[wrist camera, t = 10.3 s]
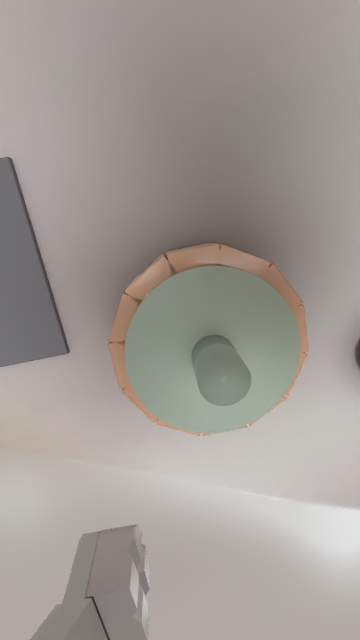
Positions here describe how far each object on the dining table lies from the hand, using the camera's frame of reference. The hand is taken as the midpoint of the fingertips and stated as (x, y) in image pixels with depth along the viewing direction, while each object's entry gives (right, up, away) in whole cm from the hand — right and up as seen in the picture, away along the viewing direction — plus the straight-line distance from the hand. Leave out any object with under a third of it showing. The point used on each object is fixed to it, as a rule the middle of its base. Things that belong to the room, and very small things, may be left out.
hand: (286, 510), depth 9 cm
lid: (-1, +3, +14) cm, 14 cm away
